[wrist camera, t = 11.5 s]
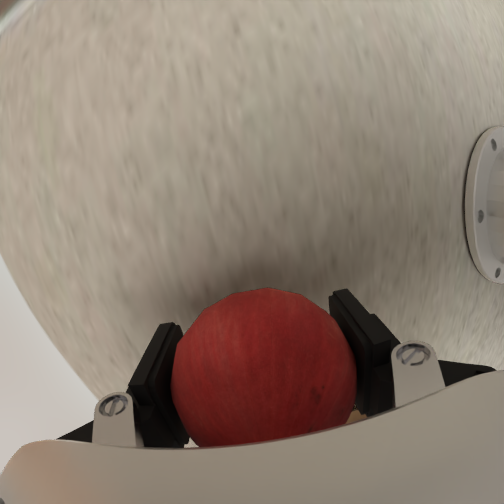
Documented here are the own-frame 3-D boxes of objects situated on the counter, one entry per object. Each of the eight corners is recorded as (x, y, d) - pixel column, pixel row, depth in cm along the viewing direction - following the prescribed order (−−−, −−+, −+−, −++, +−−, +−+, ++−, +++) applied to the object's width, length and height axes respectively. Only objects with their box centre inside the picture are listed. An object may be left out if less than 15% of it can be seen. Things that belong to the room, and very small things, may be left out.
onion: (344, 339, 12) (419, 477, 5) (239, 393, 13) (238, 539, 5) (284, 233, 11) (364, 349, 3) (165, 304, 12) (84, 454, 4)
